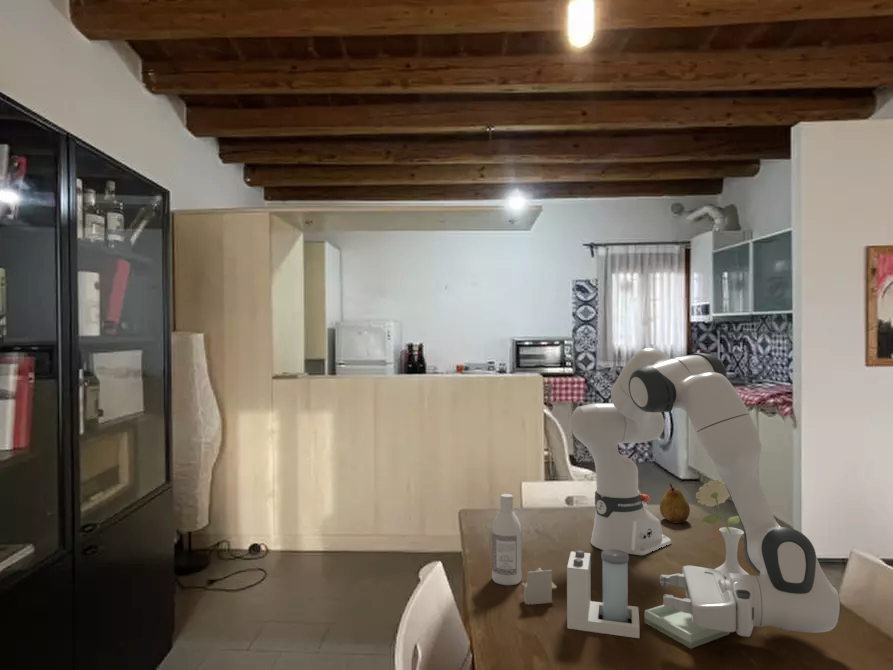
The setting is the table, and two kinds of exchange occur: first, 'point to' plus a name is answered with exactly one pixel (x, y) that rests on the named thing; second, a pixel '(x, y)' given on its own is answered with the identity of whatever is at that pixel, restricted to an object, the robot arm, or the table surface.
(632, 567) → the table surface
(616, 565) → the cylinder
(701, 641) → the tray
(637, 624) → the base
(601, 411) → the robot arm
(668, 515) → the fruit
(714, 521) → the flower in vase
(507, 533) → the bath foam
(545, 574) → the architectural model
